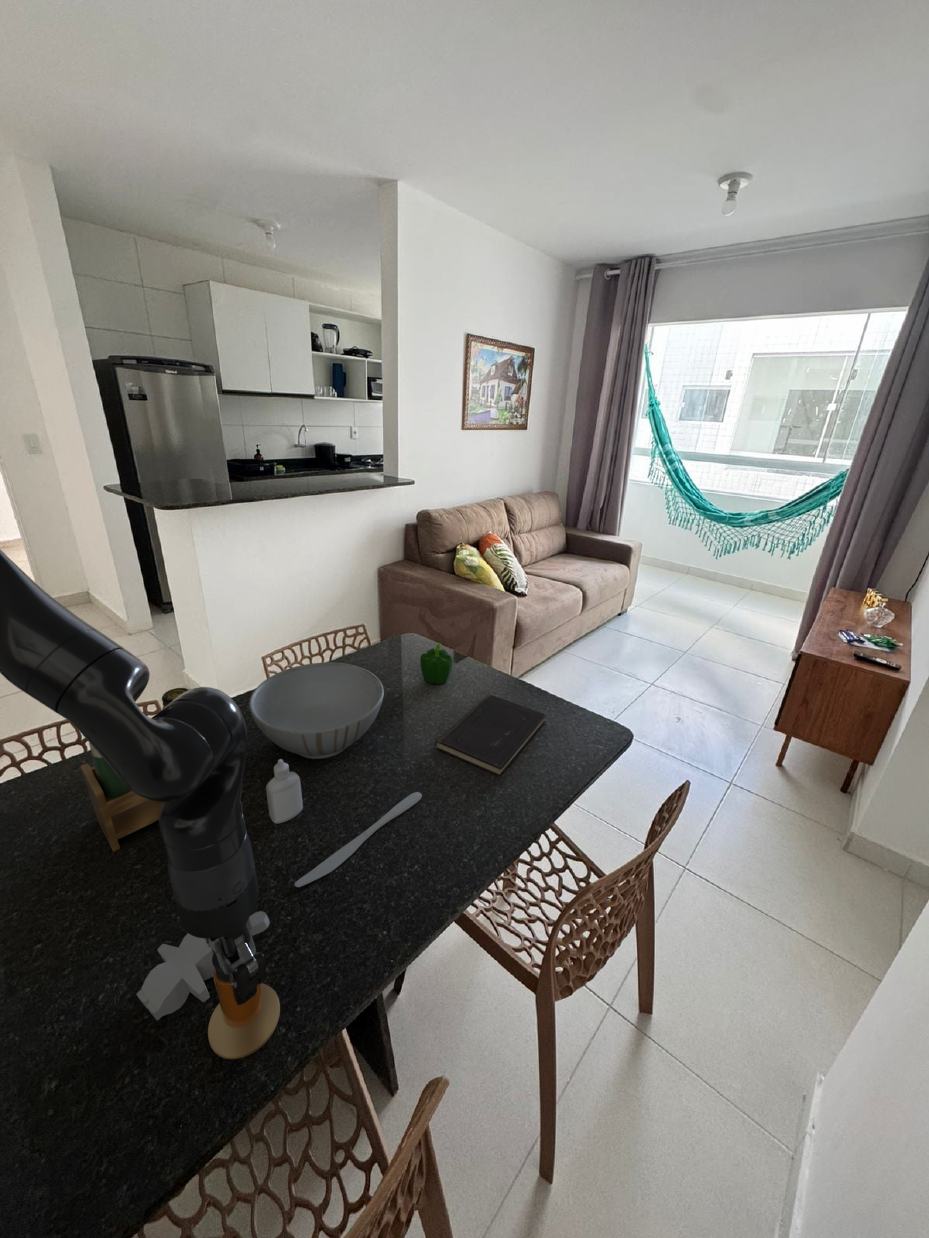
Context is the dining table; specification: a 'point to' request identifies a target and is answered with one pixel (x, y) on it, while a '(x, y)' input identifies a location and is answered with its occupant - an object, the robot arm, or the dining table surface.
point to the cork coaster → (244, 1029)
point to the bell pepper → (436, 665)
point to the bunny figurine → (184, 972)
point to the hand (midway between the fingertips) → (236, 979)
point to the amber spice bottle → (229, 1007)
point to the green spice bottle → (107, 777)
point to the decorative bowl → (317, 707)
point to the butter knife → (356, 842)
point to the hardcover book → (492, 734)
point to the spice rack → (119, 810)
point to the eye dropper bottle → (284, 794)
